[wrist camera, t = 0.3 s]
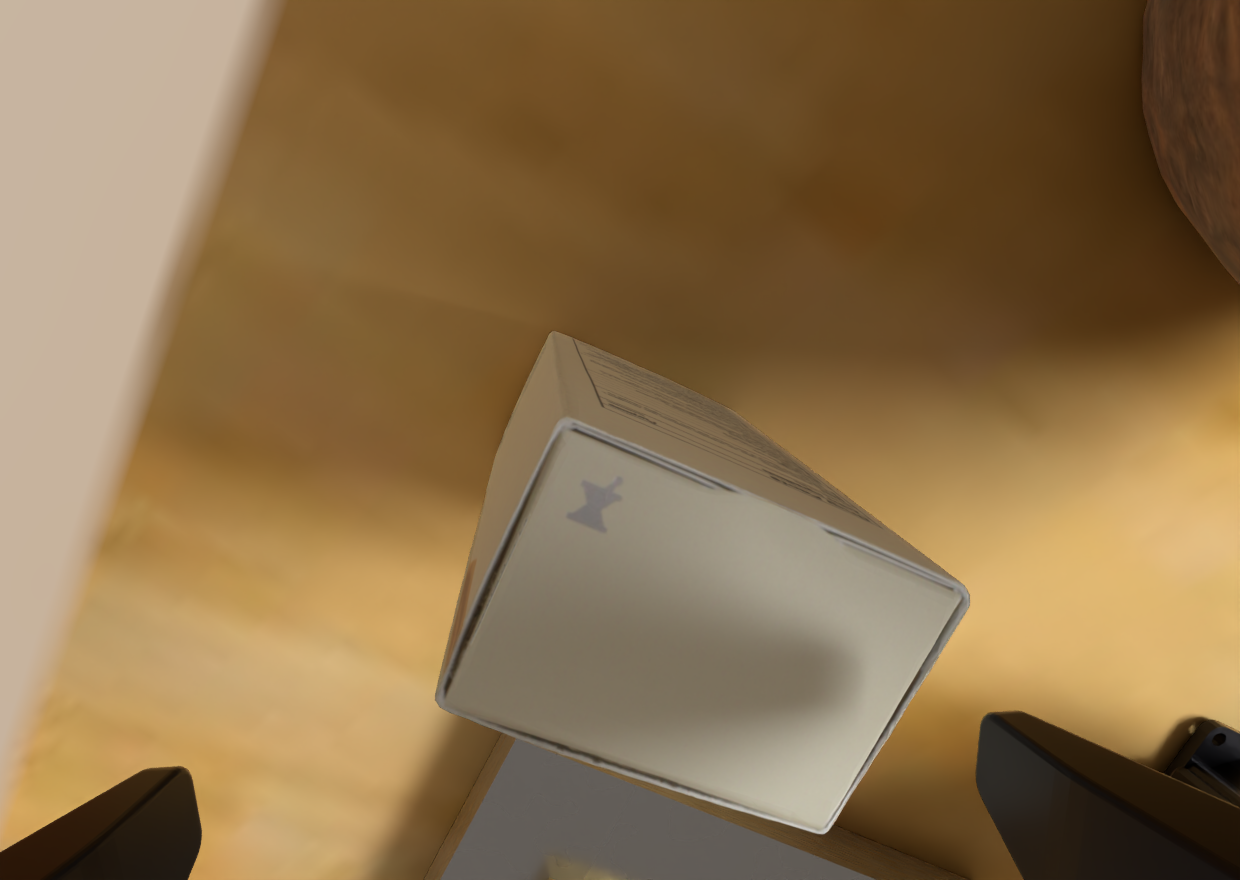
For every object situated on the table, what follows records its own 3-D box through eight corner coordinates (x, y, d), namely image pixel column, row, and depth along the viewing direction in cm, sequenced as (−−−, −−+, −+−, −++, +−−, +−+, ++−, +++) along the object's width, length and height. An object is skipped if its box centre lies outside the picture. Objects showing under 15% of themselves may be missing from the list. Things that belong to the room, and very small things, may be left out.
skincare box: (490, 460, 21) (396, 707, 9) (551, 324, 20) (534, 397, 8) (686, 541, 22) (832, 859, 10) (750, 415, 21) (990, 596, 9)
